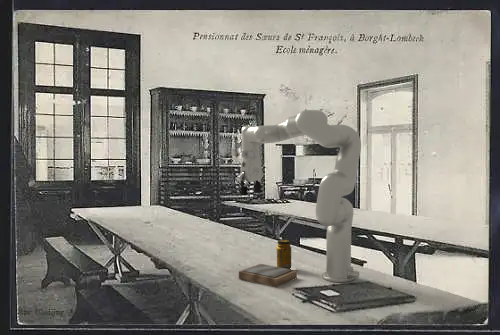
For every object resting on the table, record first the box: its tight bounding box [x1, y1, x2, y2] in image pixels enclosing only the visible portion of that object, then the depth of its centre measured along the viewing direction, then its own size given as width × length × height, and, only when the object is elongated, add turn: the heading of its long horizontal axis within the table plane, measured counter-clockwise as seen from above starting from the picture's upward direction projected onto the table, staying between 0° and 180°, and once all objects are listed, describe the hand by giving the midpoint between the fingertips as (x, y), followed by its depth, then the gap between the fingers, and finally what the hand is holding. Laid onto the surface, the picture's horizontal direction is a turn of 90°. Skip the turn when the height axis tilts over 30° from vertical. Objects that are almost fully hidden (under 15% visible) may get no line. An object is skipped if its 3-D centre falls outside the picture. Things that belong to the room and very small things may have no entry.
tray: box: [238, 263, 298, 288], centre depth 220 cm, size 18×14×3 cm
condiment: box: [274, 239, 292, 269], centre depth 233 cm, size 7×8×12 cm
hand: (251, 194), depth 243 cm, fingers open, 9 cm apart
